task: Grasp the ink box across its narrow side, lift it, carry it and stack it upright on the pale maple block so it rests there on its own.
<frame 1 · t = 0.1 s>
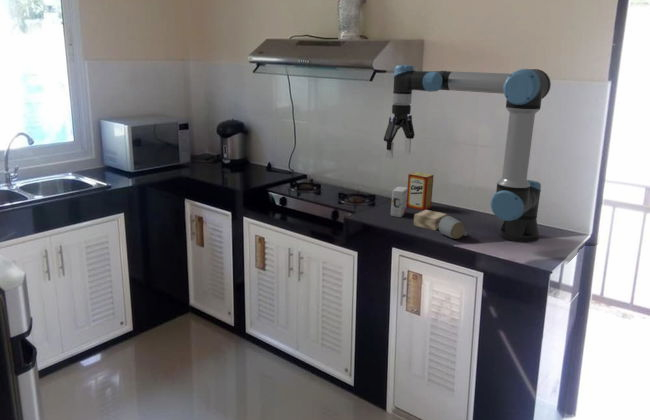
hand: (398, 155, 231), 28 cm above the counter, fingers open, 13 cm apart
ceramic mug: (453, 236, 219), on the counter
ink box: (398, 214, 246), on the counter
baking soda box: (418, 207, 259), on the counter
maple block: (429, 225, 232), on the counter
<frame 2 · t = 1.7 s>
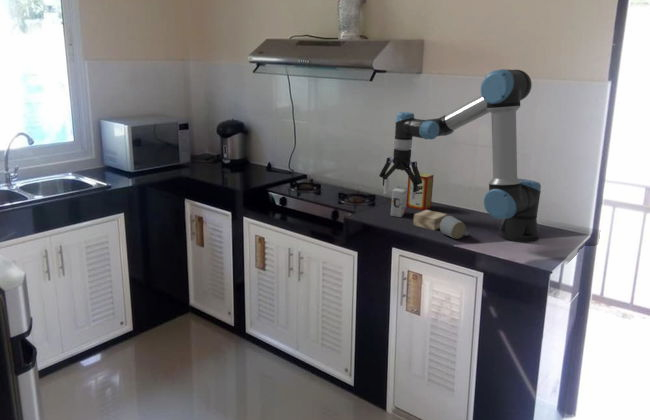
hand: (399, 196, 244), 8 cm above the counter, fingers open, 13 cm apart
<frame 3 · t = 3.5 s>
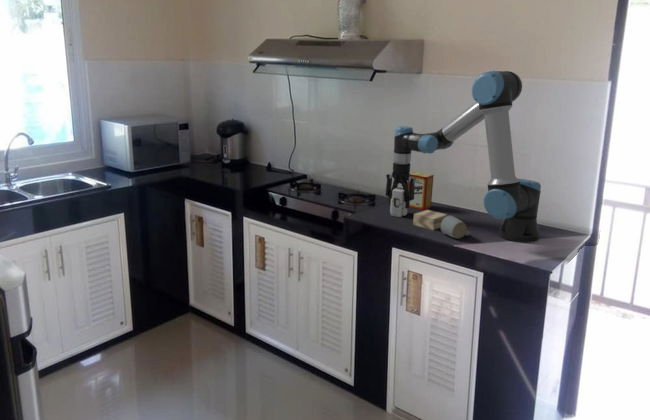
hand: (398, 213, 246), 0 cm above the counter, fingers closed on ink box, 6 cm apart
ink box: (398, 214, 246), on the counter, touching gripper
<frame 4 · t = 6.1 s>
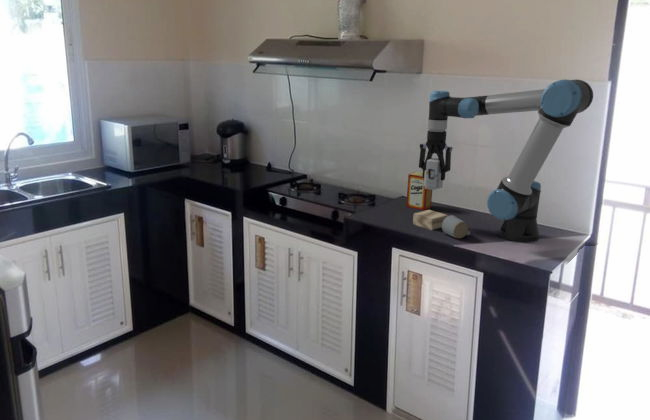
hand: (432, 186, 228), 17 cm above the counter, fingers closed on ink box, 6 cm apart
ink box: (433, 188, 228), point 16 cm above the counter, touching gripper
when the fingers open (7 cm above the counter, at t = 8.6 s): ink box drops 2 cm, point 4 cm above the counter.
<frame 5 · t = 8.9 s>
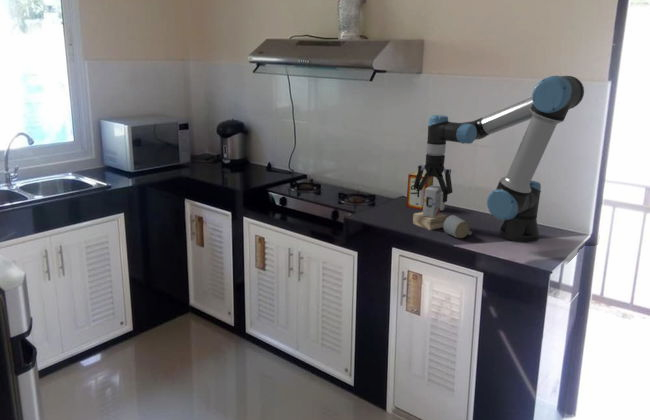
hand: (431, 207, 230), 8 cm above the counter, fingers open, 9 cm apart
ink box: (431, 215, 231), point 4 cm above the counter
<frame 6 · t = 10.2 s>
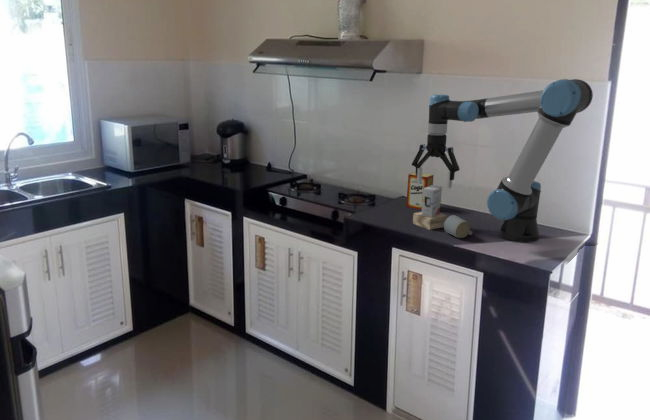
hand: (433, 185, 227), 17 cm above the counter, fingers open, 13 cm apart
ink box: (430, 215, 231), point 4 cm above the counter, touching maple block
maple block: (429, 225, 232), on the counter, touching ink box
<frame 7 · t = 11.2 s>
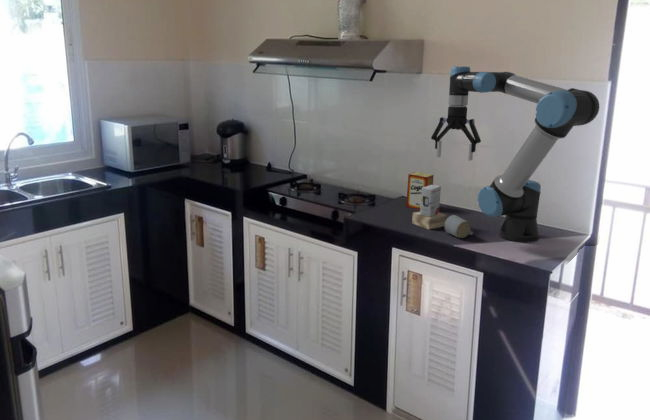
hand: (454, 158, 227), 28 cm above the counter, fingers open, 13 cm apart
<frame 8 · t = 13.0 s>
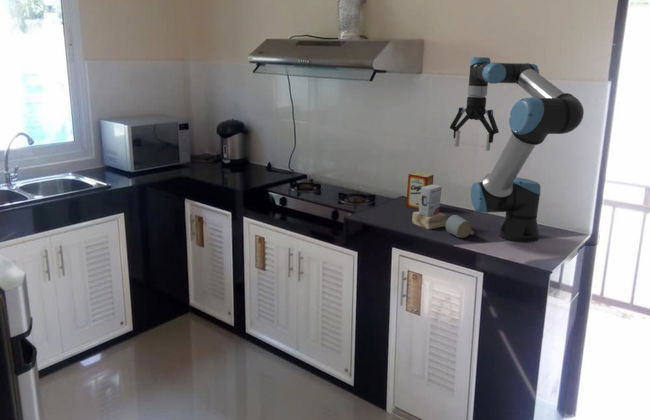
hand: (471, 148, 230), 32 cm above the counter, fingers open, 13 cm apart
at the end: ink box inside the target area on the maple block (0.5 cm from its centre), point 4.8 cm above the maple block's base; ink box tilted 1°; the gripper is holding nothing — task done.
